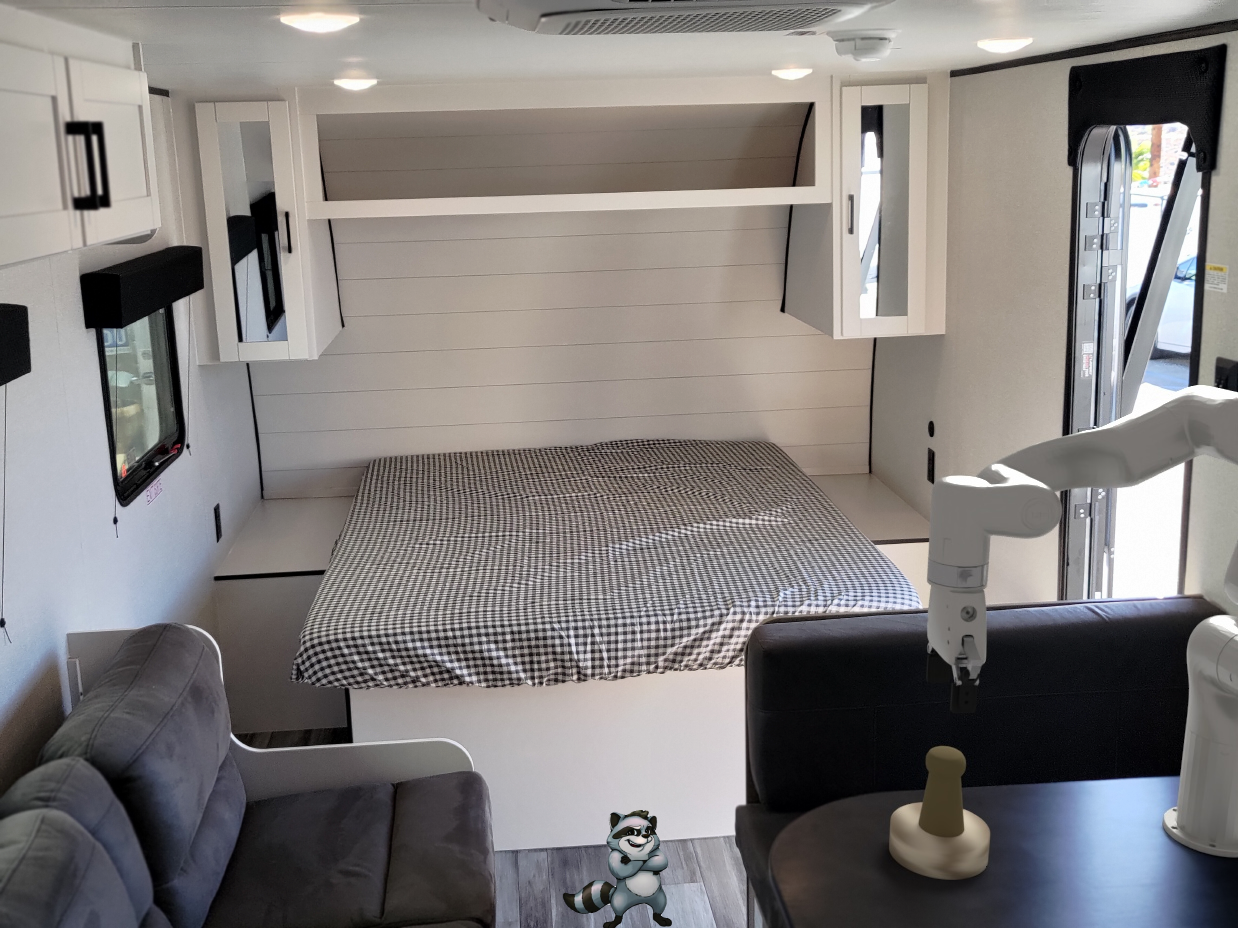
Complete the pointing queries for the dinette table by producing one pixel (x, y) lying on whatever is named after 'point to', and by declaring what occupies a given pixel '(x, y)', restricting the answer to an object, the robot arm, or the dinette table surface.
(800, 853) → the dinette table surface
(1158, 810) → the dinette table surface
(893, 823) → the disc
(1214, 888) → the dinette table surface
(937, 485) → the robot arm
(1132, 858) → the dinette table surface
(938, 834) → the olive pawn
